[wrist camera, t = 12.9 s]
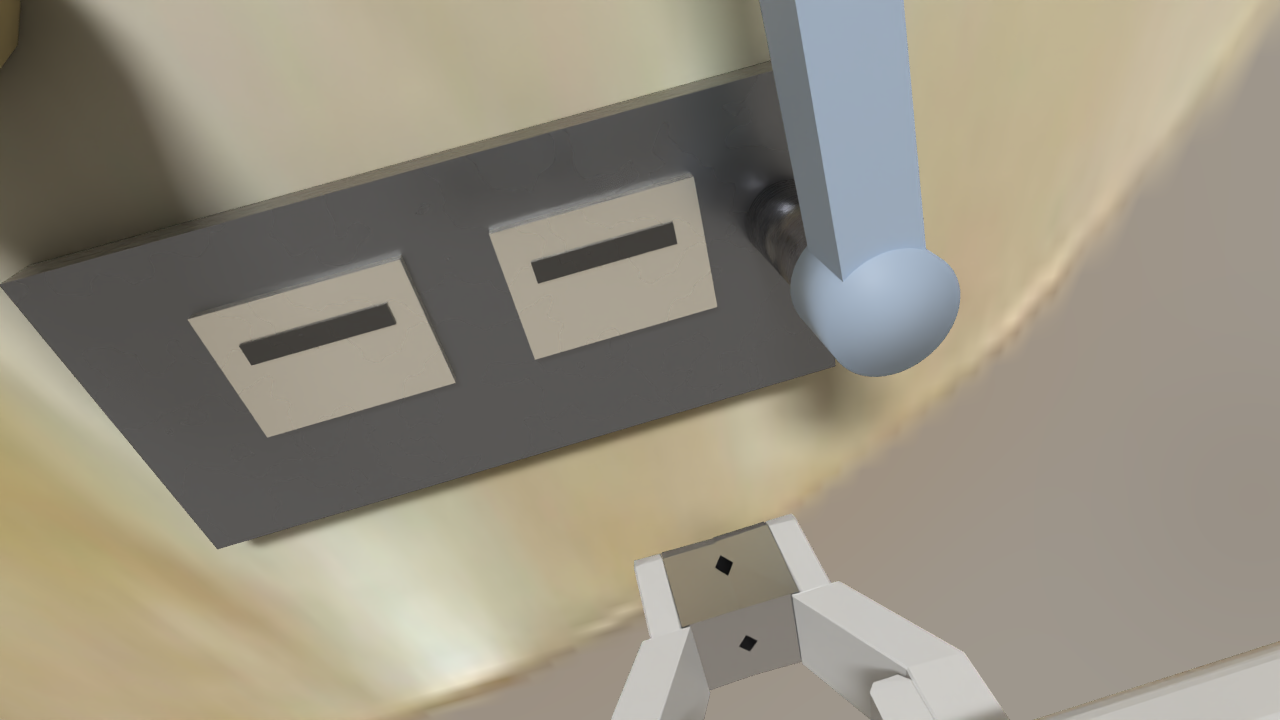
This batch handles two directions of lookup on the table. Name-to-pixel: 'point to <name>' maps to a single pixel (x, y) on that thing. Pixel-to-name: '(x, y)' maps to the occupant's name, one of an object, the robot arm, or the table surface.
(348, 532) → the table surface
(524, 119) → the table surface
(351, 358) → the switch panel
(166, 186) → the table surface
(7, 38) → the squeeze bottle
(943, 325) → the swing arm
